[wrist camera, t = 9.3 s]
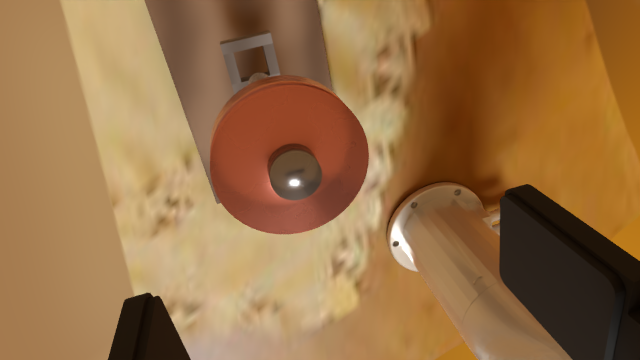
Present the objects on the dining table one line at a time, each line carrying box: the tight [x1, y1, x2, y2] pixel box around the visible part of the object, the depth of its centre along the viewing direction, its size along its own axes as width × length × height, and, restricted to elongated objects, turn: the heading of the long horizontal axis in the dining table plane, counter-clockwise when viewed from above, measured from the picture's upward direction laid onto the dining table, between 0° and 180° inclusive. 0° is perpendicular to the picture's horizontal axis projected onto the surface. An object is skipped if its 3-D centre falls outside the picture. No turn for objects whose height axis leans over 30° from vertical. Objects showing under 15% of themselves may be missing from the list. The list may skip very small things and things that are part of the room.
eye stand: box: [145, 0, 333, 204], centre depth 38 cm, size 14×20×8 cm
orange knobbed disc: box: [210, 72, 369, 234], centre depth 23 cm, size 6×6×14 cm
